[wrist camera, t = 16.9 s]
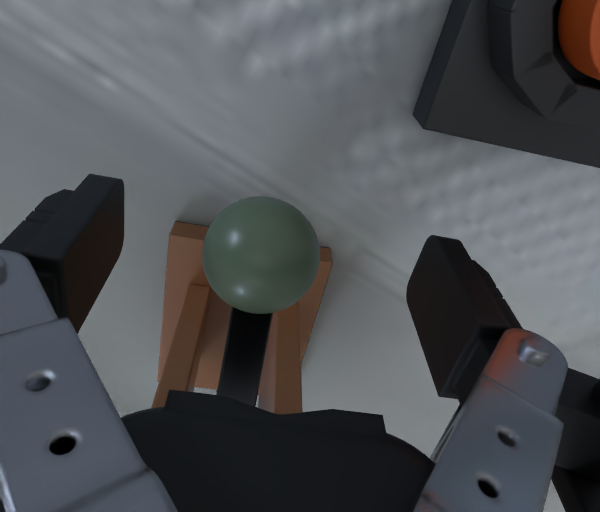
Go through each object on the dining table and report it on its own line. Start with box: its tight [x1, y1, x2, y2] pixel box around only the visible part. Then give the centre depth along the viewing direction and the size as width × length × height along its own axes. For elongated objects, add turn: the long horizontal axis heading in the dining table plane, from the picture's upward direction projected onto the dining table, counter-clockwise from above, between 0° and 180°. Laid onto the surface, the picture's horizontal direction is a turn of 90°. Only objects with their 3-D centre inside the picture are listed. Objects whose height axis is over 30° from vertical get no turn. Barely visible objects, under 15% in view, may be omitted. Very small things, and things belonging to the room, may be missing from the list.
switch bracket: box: [152, 221, 333, 415], centre depth 18 cm, size 9×7×13 cm
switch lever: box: [202, 197, 320, 407], centre depth 13 cm, size 12×3×3 cm, turn 168°
